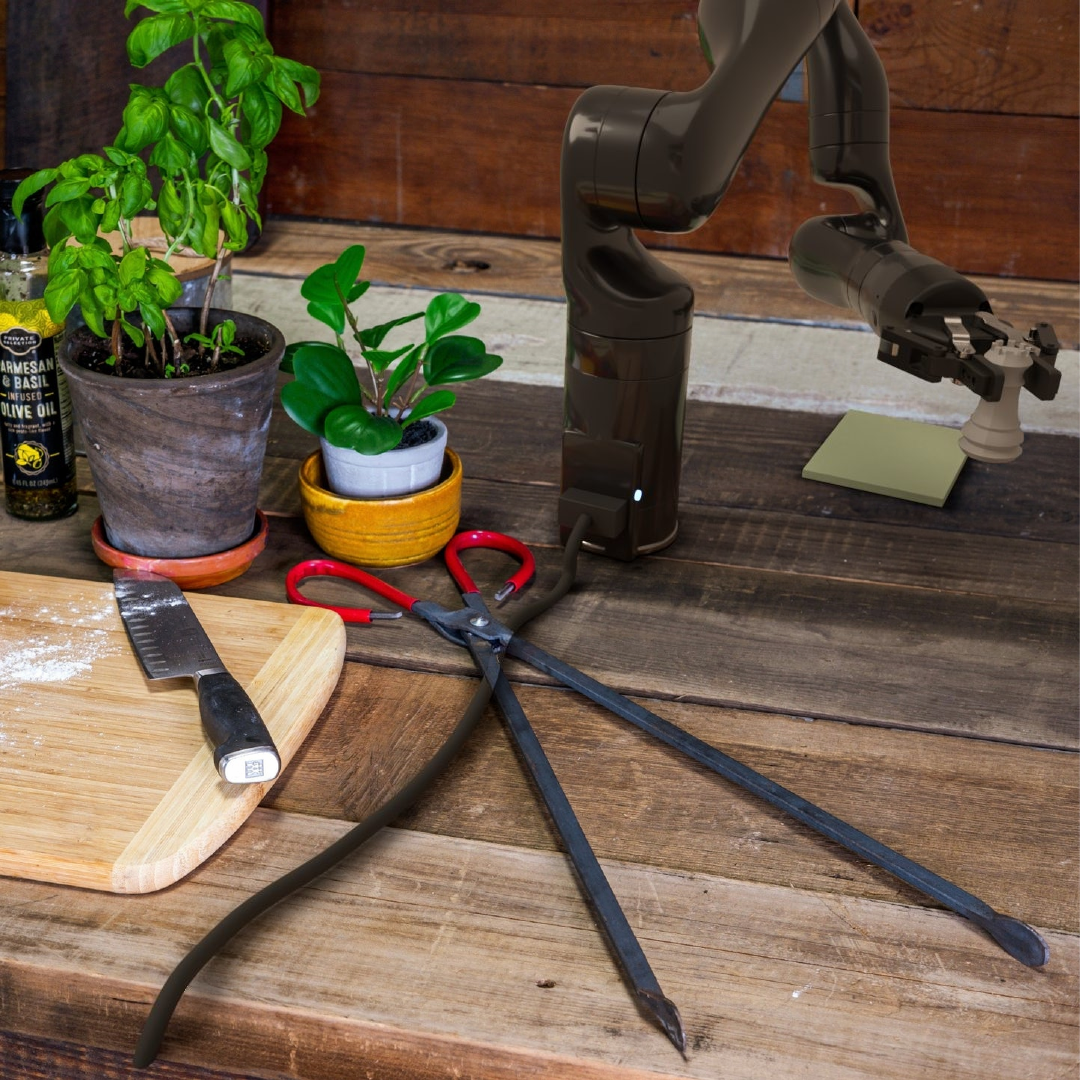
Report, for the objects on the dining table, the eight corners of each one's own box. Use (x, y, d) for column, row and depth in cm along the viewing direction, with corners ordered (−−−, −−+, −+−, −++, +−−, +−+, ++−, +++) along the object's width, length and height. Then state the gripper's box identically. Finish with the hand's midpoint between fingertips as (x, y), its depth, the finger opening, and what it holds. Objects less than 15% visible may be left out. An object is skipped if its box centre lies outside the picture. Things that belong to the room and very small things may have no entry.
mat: (942, 507, 104) (943, 498, 104) (801, 477, 109) (802, 469, 109) (976, 440, 117) (977, 433, 117) (849, 416, 122) (850, 408, 121)
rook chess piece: (1012, 470, 87) (1037, 361, 84) (948, 455, 89) (969, 348, 86) (1027, 449, 91) (1052, 343, 87) (966, 434, 93) (986, 330, 89)
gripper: (843, 263, 97) (936, 337, 82) (1015, 262, 99) (1136, 333, 84) (830, 356, 100) (917, 442, 85) (996, 352, 102) (1109, 436, 87)
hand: (1025, 387), depth 85 cm, fingers closed on rook chess piece, 3 cm apart
